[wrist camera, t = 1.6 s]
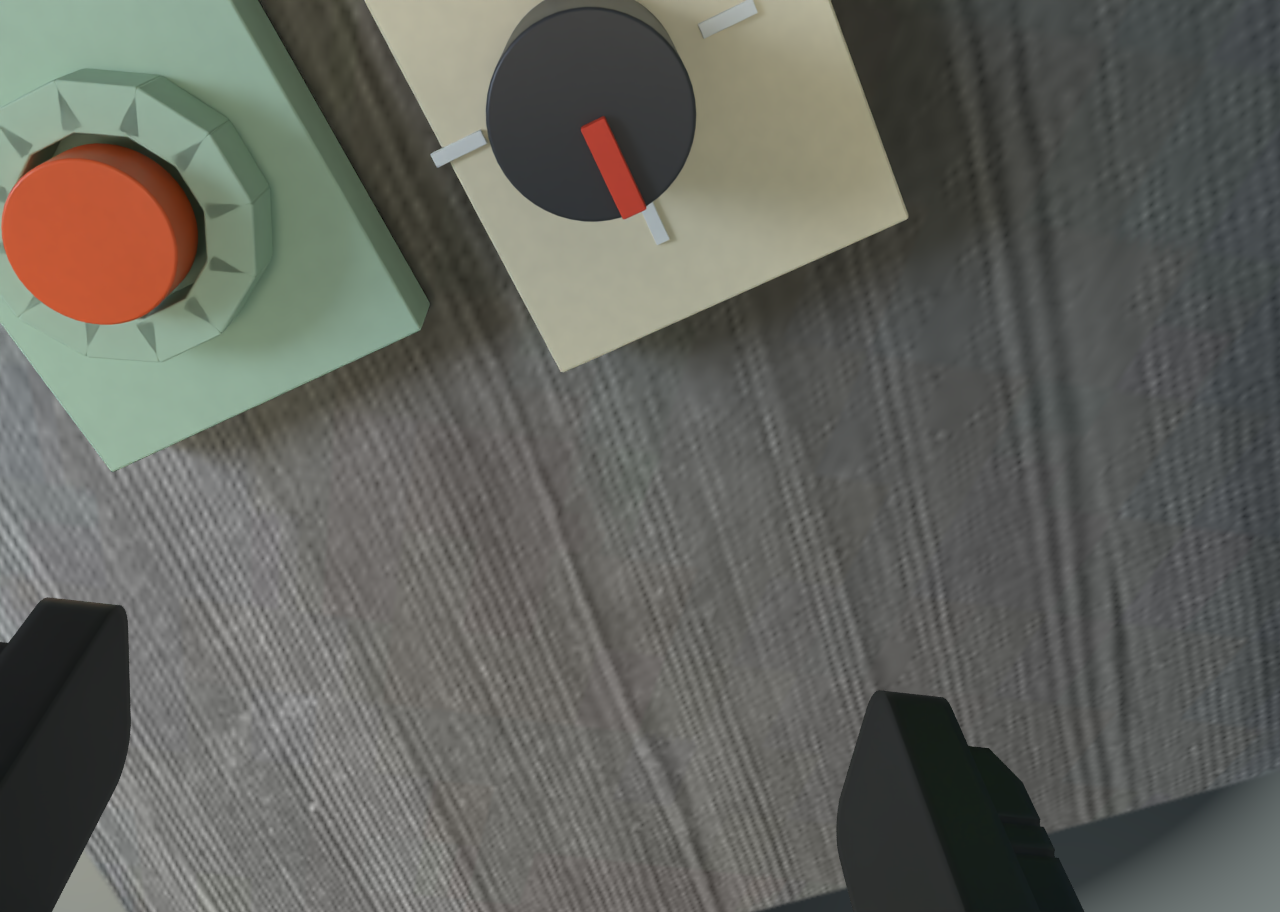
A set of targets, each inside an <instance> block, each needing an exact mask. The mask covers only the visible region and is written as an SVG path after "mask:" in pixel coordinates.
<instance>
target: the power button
mask: <svg viewBox="0 0 1280 912" xmlns="http://www.w3.org/2000/svg"><path fill="white" fill-rule="evenodd" d="M1 230H2V240H3V245H4V249H5V252H6V255H7V258H8V260H9V262H10V264H11V266H12V268H13V270H14V272H15V273H16V275H17V276H18V278H19V280H20V281H21V282H22V283H23V284H24V286H25V287H26V288H27V289H28V290H29V291H30V292H31V293H32V294H33V295H34V296H35V297H36V298H37V299H38V300H40V301H41V302H42V303H43V304H45V305H46V306H48V307H49V308H51V309H53V310H54V311H56V312H58V313H60V314H62V315H64V316H66V317H69V318H72V319H74V320H77V321H81V322H85V323H91V324H99V325H113V324H121V323H126V322H130V321H133V320H135V319H138V318H140V317H142V316H144V315H146V314H148V313H149V312H151V311H152V310H153V309H155V308H156V307H157V306H158V305H159V304H160V303H161V302H162V301H163V300H164V299H165V298H166V297H167V296H168V295H169V294H170V293H171V292H172V291H173V290H174V289H175V288H176V287H177V286H178V285H179V284H180V283H181V282H182V281H183V280H184V278H185V277H186V275H187V274H188V272H189V271H190V269H191V267H192V265H193V263H194V260H195V256H196V253H197V246H198V229H197V222H196V218H195V214H194V211H193V209H192V206H191V204H190V201H189V199H188V198H187V196H186V194H185V192H184V191H183V189H182V188H181V187H180V185H179V184H178V182H177V181H176V180H175V179H174V178H173V177H172V176H171V175H170V174H169V173H168V172H167V171H166V170H165V169H164V168H163V167H162V166H160V165H159V164H158V163H156V162H155V161H153V160H152V159H150V158H149V157H147V156H145V155H143V154H141V153H139V152H137V151H134V150H132V149H129V148H126V147H122V146H119V145H112V144H100V143H94V144H86V145H81V146H77V147H74V148H71V149H69V150H66V151H64V152H62V153H60V154H59V155H57V156H55V157H53V158H51V159H49V160H47V161H45V162H44V163H42V164H40V165H38V166H36V167H35V168H33V169H31V170H30V171H28V172H27V173H26V174H25V175H23V176H22V177H21V178H20V179H19V180H18V181H17V183H16V184H15V185H14V186H13V188H12V190H11V191H10V193H9V195H8V197H7V199H6V202H5V204H4V209H3V213H2V222H1Z"/></svg>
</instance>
